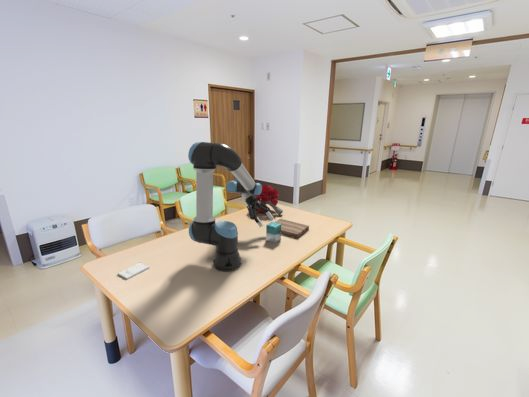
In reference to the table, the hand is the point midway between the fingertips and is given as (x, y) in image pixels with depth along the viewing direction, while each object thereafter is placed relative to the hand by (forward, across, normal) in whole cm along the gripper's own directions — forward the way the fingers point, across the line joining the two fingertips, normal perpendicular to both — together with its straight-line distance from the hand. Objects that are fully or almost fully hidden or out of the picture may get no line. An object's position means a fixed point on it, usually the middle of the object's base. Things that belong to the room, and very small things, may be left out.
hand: (267, 223), depth 175 cm
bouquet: (-11, -41, -26) cm, 50 cm away
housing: (+11, +2, -3) cm, 12 cm away
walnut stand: (+12, -18, -3) cm, 22 cm away
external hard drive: (-17, +74, -32) cm, 82 cm away
